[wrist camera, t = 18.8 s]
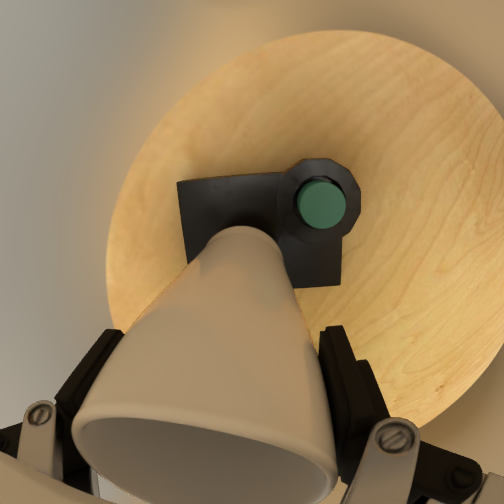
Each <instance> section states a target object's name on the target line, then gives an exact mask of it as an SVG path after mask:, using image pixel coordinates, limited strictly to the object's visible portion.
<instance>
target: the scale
mask: <svg viewBox="0 0 504 504" xmlns="http://www.w3.org/2000/svg"><path fill="white" fill-rule="evenodd" d="M315 180H323V181H327V182H329V183H331V184H333V185H335V186H336V187H338V188H339V189H340V190H341V192H342V193H343V195H344V198H345V202H346V208H345V212H344V215H343V217H342V219H341V220H340V221H339V222H338V223H337V224H336V225H334V226H332V227H330V228H325V229H319V228H315V227H313V226H311V225H309V224H308V223H307V222H306V221H305V220H304V219H303V217H302V215H301V214H300V212H299V209H298V206H297V198H298V194H299V192H300V190H301V189H302V188H303V186H305V185H306V184H307V183H309V182H311V181H315ZM177 191H178V199H179V207H180V215H181V222H182V230H183V237H184V243H185V250H186V256H187V263H188V264H189V263H190V262H191V261H192V260H193V259H194V258H195V257H196V256H197V255H198V254H199V253H200V252H201V251H202V250H203V249H204V247H205V246H206V244H207V243H208V241H209V240H210V239H211V238H212V237H213V236H214V235H216V234H217V233H218V232H220V231H222V230H224V229H227V228H230V227H234V226H249V227H253V228H256V229H259V230H261V231H263V232H265V233H266V234H268V235H269V236H270V237H271V238H272V239H273V240H274V241H275V242H276V244H277V245H278V247H279V248H280V250H281V253H282V255H283V259H284V265H285V268H286V271H287V274H288V277H289V279H290V282H291V284H292V287H293V289H295V288H310V287H324V286H337V285H340V284H341V261H342V237H343V236H344V235H346V234H348V233H349V232H350V231H351V229H352V228H353V226H354V224H355V222H356V220H357V219H358V217H359V215H360V212H361V191H360V188H359V186H358V184H357V182H356V180H355V179H354V177H353V175H352V174H351V172H350V171H349V169H347V168H345V167H343V166H342V165H340V164H338V163H336V162H335V161H333V160H331V159H328V158H310V159H302V160H300V161H299V162H297V163H295V164H294V165H292V166H291V167H289V168H288V169H286V170H285V171H284V172H269V173H253V174H240V175H228V176H218V177H208V178H198V179H189V180H182V181H179V182H177Z"/></svg>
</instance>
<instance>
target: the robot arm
mask: <svg viewBox="0 0 504 504" xmlns="http://www.w3.org/2000/svg"><path fill="white" fill-rule="evenodd" d="M124 335H125V334H123V332H122V331H121V330H116V329H106V330H105V331H104V332H103V333H102V335H101V336H100V337H99V338H98V340H97V341H96V342H95V344H94V345H93V346H92V347H91V349H90V350H89V351H88V353H87V354H86V355H85V356H84V358H83V359H82V360H81V362H80V363H79V364H78V366H77V367H76V368H75V370H74V371H73V372H72V374H71V375H70V376H69V378H68V379H67V381H66V382H65V383H64V385H63V386H62V387H61V389H60V390H59V392H58V393H57V394H56V396H55V398H54V399H55V400H56V402H57V403H56V404H55V405H54V404H53V403H52V402H50V401H47V400H41V401H37V402H36V403H33V404H32V405H31V406H29V407H28V409H27V410H26V412H25V415H24V419H23V422H21V423H19V424H16V425H13V426H10V427H7V428H4V429H0V504H116V503H113V502H109V501H107V500H104V499H101V498H100V493H99V485H98V477H97V472H96V471H95V470H94V469H93V468H91V467H90V465H89V464H88V463H87V462H86V461H85V460H84V459H83V457H82V456H81V455H80V453H79V451H78V450H77V448H76V446H75V444H74V441H73V438H72V432H71V428H72V422H73V419H74V417H75V415H76V414H77V412H78V410H79V408H80V406H81V405H82V403H83V401H84V399H85V397H86V395H87V393H88V391H89V389H90V388H91V386H92V384H93V382H94V380H95V379H96V377H97V375H98V374H99V372H100V370H101V369H102V367H103V365H104V364H105V362H106V361H107V359H108V357H109V356H110V354H111V353H112V351H113V350H114V349H115V347H116V346H117V344H118V343H119V341H120V340H121V339H122V337H123V336H124ZM318 358H319V361H320V365H321V368H322V372H323V376H324V380H325V384H326V389H327V394H328V399H329V404H330V410H331V416H332V423H333V430H334V439H335V449H336V459H337V467H338V476H340V477H341V481H342V482H343V483H345V484H347V488H346V490H345V492H344V495H343V497H342V499H341V502H340V504H504V477H503V476H500V475H497V474H494V473H491V472H489V473H488V474H484V473H482V469H481V467H480V465H479V464H478V463H477V462H476V461H474V460H472V459H470V458H467V457H464V456H461V455H458V454H455V453H452V452H449V451H447V450H444V449H441V448H439V447H436V446H433V445H431V444H428V443H426V442H423V441H421V440H420V432H419V430H418V428H417V426H416V425H415V424H414V423H413V422H411V421H409V420H407V419H404V418H400V417H390V415H389V412H388V409H387V407H386V404H385V401H384V399H383V396H382V394H381V391H380V389H379V386H378V384H377V381H376V379H375V376H374V374H373V371H372V369H371V367H370V364H369V362H368V361H367V360H366V359H365V360H358V361H356V359H355V356H354V354H353V351H352V348H351V346H350V343H349V340H348V338H347V335H346V333H345V330H344V328H343V326H342V325H338V326H328V327H326V329H325V331H320V339H319V355H318Z"/></svg>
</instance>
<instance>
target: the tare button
mask: <svg viewBox="0 0 504 504" xmlns="http://www.w3.org/2000/svg"><path fill="white" fill-rule="evenodd" d="M297 206H298V209H299V212H300V214H301V215H302V217H303V219H304V220H305V221H306V222H307V223H308V224H309V225H311V226H313V227H315V228H319V229H325V228H330V227H332V226H334V225H336V224H337V223H338V222H339V221H340V220H341V219H342V217H343V215H344V212H345V208H346V202H345V198H344V195H343V193H342V192H341V190H340V189H339V188H338V187H336V186H335V185H333V184H331V183H329V182H327V181H323V180H315V181H311V182H309V183H307V184H306V185H305V186H303V188H302V189H301V190H300V192H299V194H298V198H297Z"/></svg>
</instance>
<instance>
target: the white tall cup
mask: <svg viewBox="0 0 504 504" xmlns="http://www.w3.org/2000/svg"><path fill="white" fill-rule="evenodd" d="M71 432H72V438H73V441H74V444H75V446H76V448H77V450H78V451H79V453H80V455H81V456H82V457H83V459H84V460H85V461H86V462H87V463H88V464H89V465H90V467H91V468H93V469H94V470H95V471H96V472H97V473H98V474H99V475H100V476H102V477H103V478H104V479H105V480H107V481H108V482H109V483H111V484H112V485H114V486H115V487H117V488H118V489H120V490H122V491H124V492H125V493H127V494H129V495H131V496H133V497H135V498H137V499H139V500H141V501H143V502H145V503H148V504H318V503H319V502H321V501H322V500H324V499H325V498H326V497H327V496H328V495H329V494H330V493H331V492H332V491H333V489H334V488H335V485H336V484H337V480H338V467H337V459H336V449H335V439H334V430H333V423H332V416H331V410H330V404H329V399H328V394H327V389H326V384H325V380H324V376H323V372H322V368H321V365H320V361H319V358H318V355H317V352H316V349H315V345H314V342H313V340H312V337H311V334H310V331H309V329H308V326H307V323H306V321H305V318H304V316H303V313H302V310H301V308H300V305H299V303H298V300H297V297H296V295H295V292H294V290H293V287H292V284H291V282H290V279H289V277H288V274H287V271H286V268H285V265H284V259H283V255H282V253H281V250H280V248H279V247H278V245H277V244H276V242H275V241H274V240H273V239H272V238H271V237H270V236H269V235H268V234H266V233H265V232H263V231H261V230H259V229H256V228H253V227H249V226H234V227H230V228H227V229H224V230H222V231H220V232H218V233H217V234H216V235H214V236H213V237H212V238H211V239H210V240H209V241H208V243H207V244H206V246H205V247H204V249H203V250H202V251H201V252H200V253H199V254H198V255H197V256H196V257H195V258H194V259H193V260H192V261H191V262H190V263H189V264H188V265H187V266H186V267H185V268H184V269H183V270H182V272H181V273H180V274H179V275H178V276H177V277H176V278H175V279H174V280H173V281H172V282H171V283H170V284H169V285H168V286H167V287H166V288H165V289H164V290H163V291H162V292H161V293H160V294H159V295H158V296H157V297H156V298H155V299H154V300H153V301H152V302H151V304H150V305H149V306H148V307H147V308H146V309H145V310H144V311H143V312H142V313H141V315H140V316H139V317H138V318H137V319H136V321H135V322H134V323H133V324H132V326H131V327H130V328H129V329H128V331H127V332H126V333H125V335H124V336H123V337H122V339H121V340H120V341H119V343H118V344H117V346H116V347H115V349H114V350H113V351H112V353H111V354H110V356H109V357H108V359H107V361H106V362H105V364H104V365H103V367H102V369H101V370H100V372H99V374H98V375H97V377H96V379H95V380H94V382H93V384H92V386H91V388H90V389H89V391H88V393H87V395H86V397H85V399H84V401H83V403H82V405H81V406H80V408H79V410H78V412H77V414H76V415H75V417H74V419H73V422H72V428H71Z"/></svg>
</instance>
